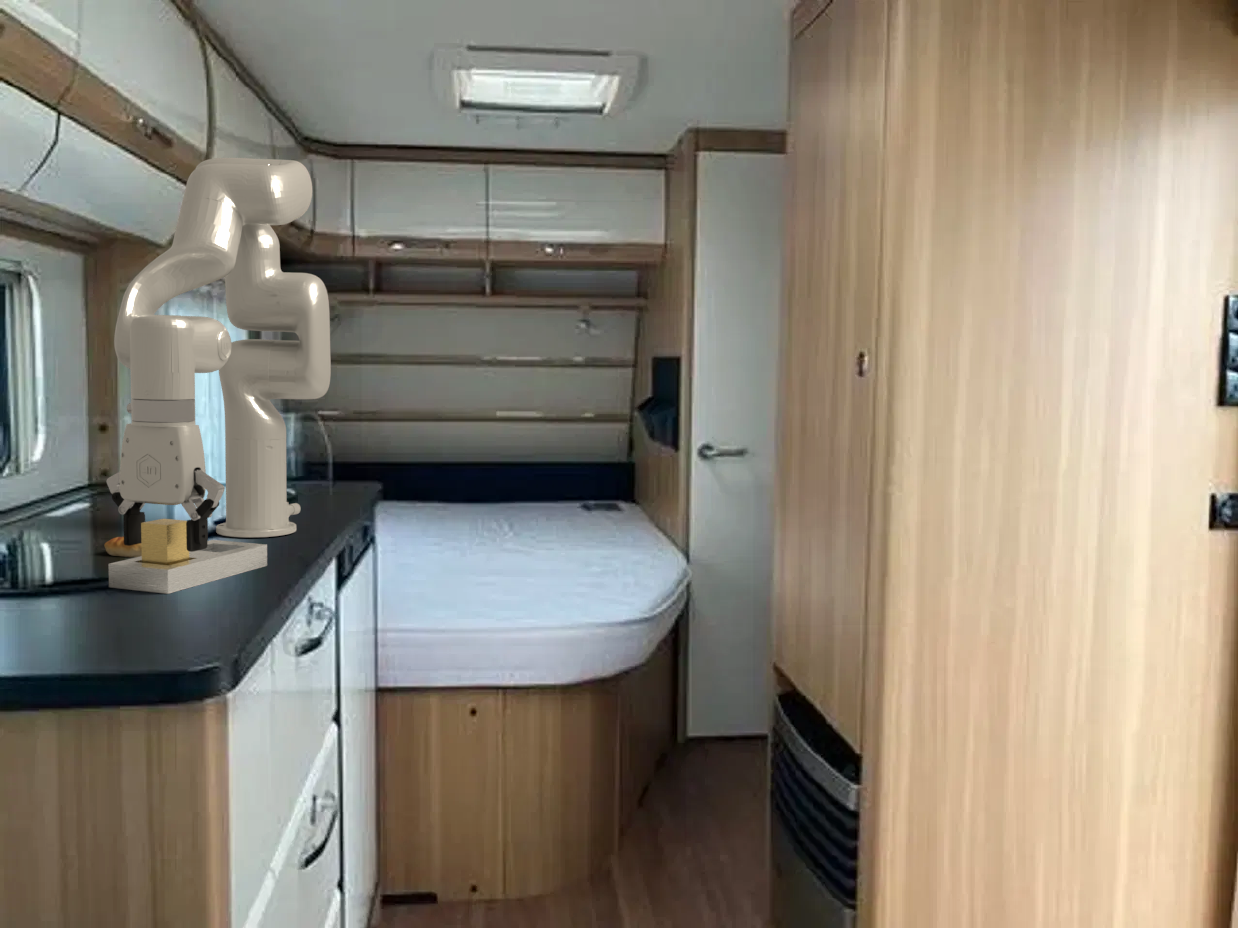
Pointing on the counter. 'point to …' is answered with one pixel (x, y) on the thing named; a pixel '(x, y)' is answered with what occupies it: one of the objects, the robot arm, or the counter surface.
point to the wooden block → (164, 542)
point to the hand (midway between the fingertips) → (165, 546)
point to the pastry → (122, 548)
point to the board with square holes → (189, 568)
